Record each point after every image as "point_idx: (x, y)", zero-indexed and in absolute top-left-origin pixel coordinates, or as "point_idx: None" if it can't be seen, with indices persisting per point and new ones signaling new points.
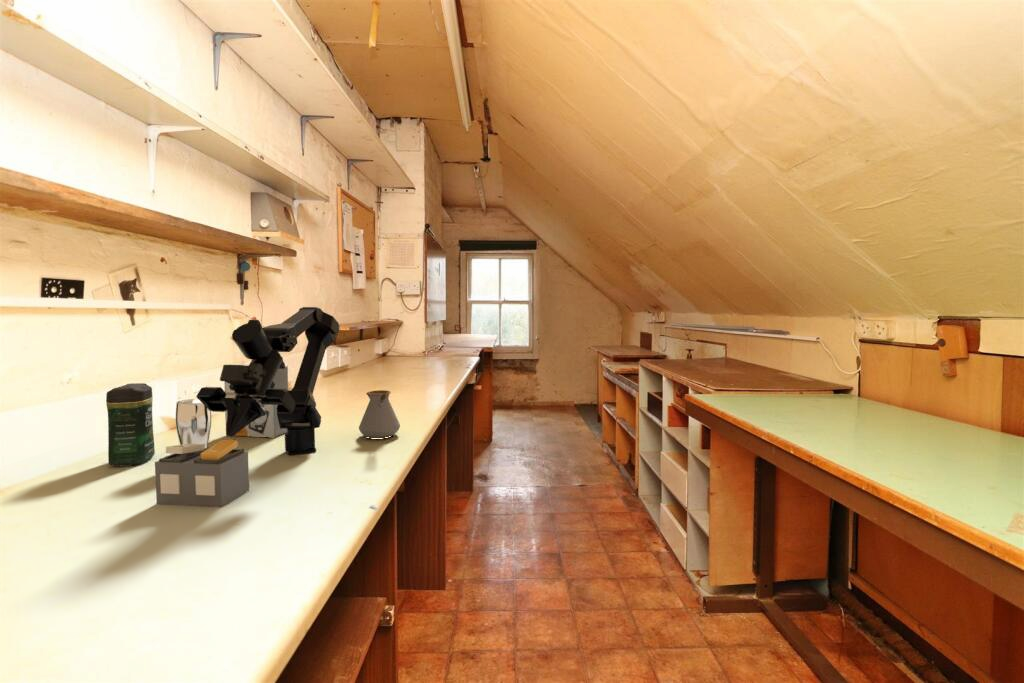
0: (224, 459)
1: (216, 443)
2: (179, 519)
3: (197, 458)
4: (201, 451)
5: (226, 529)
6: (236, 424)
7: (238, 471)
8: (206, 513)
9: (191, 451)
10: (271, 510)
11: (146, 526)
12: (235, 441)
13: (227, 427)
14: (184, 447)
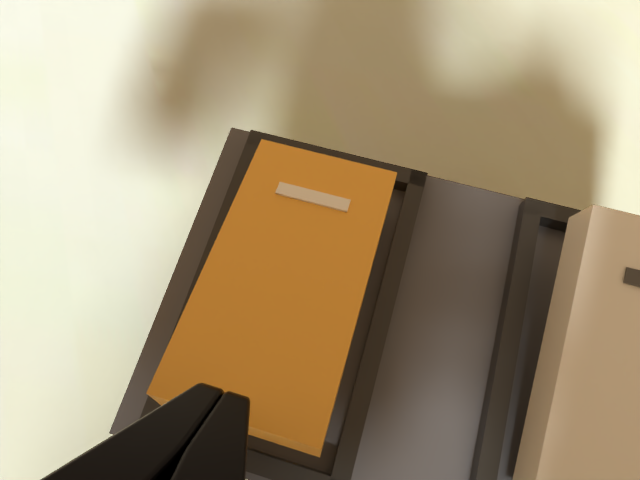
0: (228, 200)
1: (344, 356)
2: (388, 137)
3: (460, 296)
4: (502, 432)
5: (187, 38)
6: (74, 460)
7: None
8: None
9: (547, 334)
10: (59, 165)
11: (478, 97)
12: (159, 365)
13: (227, 456)
14: (585, 237)
